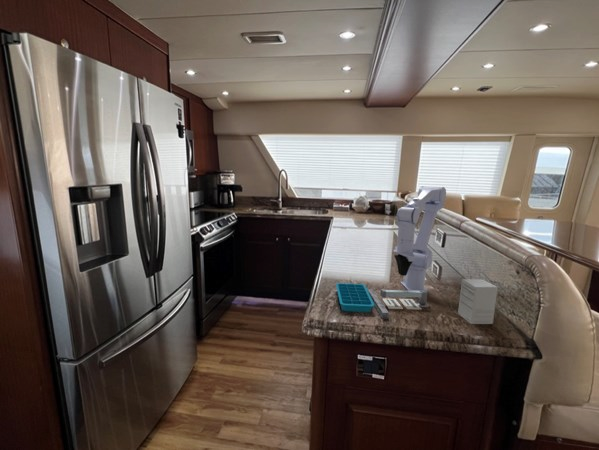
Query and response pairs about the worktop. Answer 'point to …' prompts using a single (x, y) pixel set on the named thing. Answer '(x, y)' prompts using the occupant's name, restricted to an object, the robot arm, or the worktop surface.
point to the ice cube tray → (354, 297)
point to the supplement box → (477, 301)
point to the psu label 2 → (410, 304)
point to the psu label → (392, 303)
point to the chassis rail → (378, 304)
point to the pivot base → (422, 305)
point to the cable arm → (406, 294)
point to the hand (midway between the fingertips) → (402, 274)
